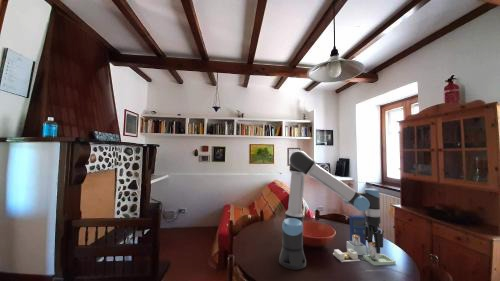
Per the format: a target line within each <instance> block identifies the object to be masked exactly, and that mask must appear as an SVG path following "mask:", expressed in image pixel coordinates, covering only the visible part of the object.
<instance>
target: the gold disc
mask: <svg viewBox="0 0 500 281" xmlns="http://www.w3.org/2000/svg"><path fill="white" fill-rule="evenodd" d="M344 260H350V257H349V255H348V254H344Z"/></svg>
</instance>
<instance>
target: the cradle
mask: <svg viewBox="0 0 500 281" xmlns="http://www.w3.org/2000/svg"><path fill="white" fill-rule="evenodd" d="M344 254H348V255H349V258H351V259H345V258H344ZM332 255H333V256H334V257H335V258H336V259H337V260H339V261H340V262H341V263H347V262H348V263H350V262H360V261H361V260H360V259H359V255H358V253H357V252H355V251H354V250H353V249H347V248H346V252H342V251H341V250H340V249H339V248H337V249H333V253H332Z"/></svg>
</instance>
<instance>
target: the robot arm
mask: <svg viewBox="0 0 500 281" xmlns="http://www.w3.org/2000/svg"><path fill="white" fill-rule="evenodd" d="M289 173H291V174H290V175H291V176H290V185H289V196H288V208H287V210H286V211H285V213H284V219H283V221H282V225H281V229H282V230H281V233H282V237H281V238H282V239H281V240H282V242H281V244H282V246H281V251H280V254H279V257H278V262H279V264H280V266H282V267H284V268H285V269H288V270H295V271H296V270H299V271H300V270H302V269H304V268H305V267H306V266H307V259H306V255H305V253H304V247H303V246H304V242H303V241H304V235H303V234H304V225H303V224H304V214H303V212H302V211H303V210H302V209H303V199H304V187H305V176H310V178H311V177H312V178H313V179H314V180H316V181H317V182H319V183H320V184H321V185H323V186H325V187H326V188H327V189H328V190H330V191H331V192H333V193H334V194H336V195H337V196H339V197H340V198H341V199H343V203H344V204H346V205H351V206H352V207H354V208H355V209H356V210H358V211H359V212H364V213H365V223H364V227H365V240H366V243H367V247H368V250H367V251H368V255H370V242H371V241H372V242H375V246H374V252H375V259H380V254H381V249H382V248H384V233H385V231H384V230H383V229H381V228H380V225H381V217H380V216H381V202H380V201H381V200H380V199H381V197H380V196H381V195H380V191H379V190H378V189H377V188H369V187H368V188H365V189H364V191H356V190H355V189H354V188H352V187H350V186H349V185H348V184H346V183H344V182H343V181H342V180H341V179H339V178H337V177H336V176H335V175H333V174H331V173H330V172H329V171H327V170H326V169H324V168H323V167H321V166H320V165H319V164H317V162H316V161H315V160H314V159H312V157H310V155H308V154H307V153H306V152H305V151H302V150H295V151H293V153H291V155H290V156H289ZM373 240H374V241H373Z"/></svg>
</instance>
